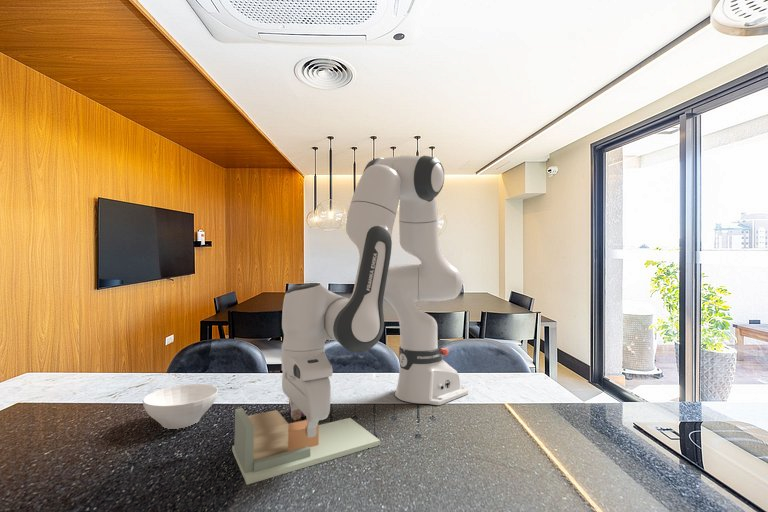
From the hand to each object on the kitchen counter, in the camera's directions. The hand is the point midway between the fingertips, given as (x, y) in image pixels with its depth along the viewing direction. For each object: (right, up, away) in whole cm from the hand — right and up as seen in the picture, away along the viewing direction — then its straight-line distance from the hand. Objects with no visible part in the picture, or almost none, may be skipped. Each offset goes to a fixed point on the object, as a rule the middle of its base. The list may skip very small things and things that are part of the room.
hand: (303, 426), depth 76 cm
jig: (+1, -4, -1) cm, 4 cm away
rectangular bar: (-3, -3, -3) cm, 5 cm away
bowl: (-32, -5, +12) cm, 34 cm away
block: (-6, -3, -5) cm, 9 cm away
